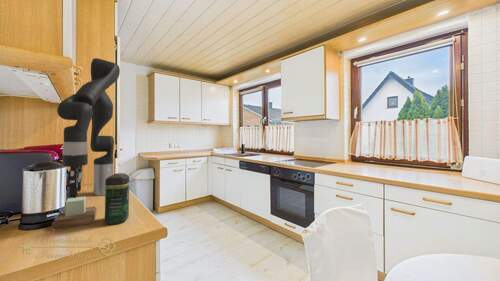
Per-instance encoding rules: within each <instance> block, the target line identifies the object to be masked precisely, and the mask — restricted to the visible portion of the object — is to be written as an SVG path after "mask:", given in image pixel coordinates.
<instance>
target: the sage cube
mask: <svg viewBox="0 0 500 281" xmlns="http://www.w3.org/2000/svg"><path fill="white" fill-rule="evenodd" d="M86 201H87V199H86V196H79V197H78V196H77V197H76V198H68V199H67V201H66V202H65V217H67V216H74V215H81V214H84V213H85V210H86V208H87V207H86V205H87V204H86Z"/></svg>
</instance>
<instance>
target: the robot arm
mask: <svg viewBox="0 0 500 281" xmlns="http://www.w3.org/2000/svg"><path fill="white" fill-rule="evenodd" d="M90 62H91V63H90V77H91V78H90V79H91V80H90V81H88V82H85V83H84V84H82V86H80V87H79V89H78V90H77V91H76V93H74V94H72V95H70V96H68V97H67V98H65V99H63V100H62V101H61V102H60V103H59V104H58V106H57V109H56V110H57V111H56V112H57V115H58V116H59V117H60V118H61V119H63V120H66V121H76V122H75V124H73V125H69V126H66V127H64V128H63V143H62V166H63V167H69V168H70V169H69V170H68V171H67V174H68V185H67V186H68V187H69V197H70V198H74V197H76V198H77V197H78V192H81V191H82V190H81V189H82V181H83V170H84V169H83V166H84V167H85V166H86V165H88V160H89V159H88V158H89V156H88V155H89V151H88V150H89V147H88V129H89V126H90V124H91V131H90V132H91V134H90V142H89V143H90V150H91V151H92V152H95V153H106V154H104V155H102V156H100V157H97V158H94V159H93V195H94V196H105V180H106V178H108V177H109V176H112V175H114V148H115V139H114V137H113V136H111V135H99V134H100V133H101V131H102V129H103V128H104V127H105V126H107V124H108V123H109V122H110V121H111V120H112V118H113V115H114V114H113V113H114V103H113V102H112V100H111V98H110V96H109V95H108V94H107V92H106V90H108V89H109V88H110V87H111V86H112V85H114V84H115V82H117V81H118V80H119V77H120V73H121V70H120V69H121V68H120V66H119V64H118V63H115V62H112V61H109V60H105V59H102V58H98V57H97V58H96V57H95V58H92V61H90ZM72 182H75V183H74V184H71V183H72Z"/></svg>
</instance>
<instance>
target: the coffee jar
mask: <svg viewBox="0 0 500 281" xmlns="http://www.w3.org/2000/svg"><path fill="white" fill-rule="evenodd" d="M104 196H105V197H104V223H105V224H108V225H118V224H120V223H124V222H126V221H127V220H128V218H129V215H130V214H129V213H130V210H129V209H130V176H129V175H128V174H127V173H126V172H125V173H123V172H121V173H120V172H119V173H113V175H112V176H109V177H108V178H106V180H105V195H104Z"/></svg>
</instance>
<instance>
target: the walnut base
mask: <svg viewBox="0 0 500 281" xmlns="http://www.w3.org/2000/svg"><path fill="white" fill-rule="evenodd" d="M97 212H98V211H97V207H96V206H89V207H88V206H87V207H86V210H85V213H84V214H81V215H74V216H67V217H65V211H64V212H63V213H61V214H59V213H58V214H59V215H58V214H57V216H56V217H55V219H54V220H53V222H52V223H51V230H52V229H55V230H60V229H59V228H61V229H66V228H65V227H67V228H73V227H79V226H84V225H90V224H95V221H96V217H97Z"/></svg>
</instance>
